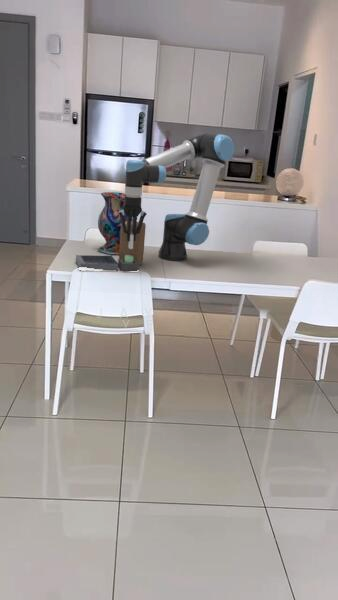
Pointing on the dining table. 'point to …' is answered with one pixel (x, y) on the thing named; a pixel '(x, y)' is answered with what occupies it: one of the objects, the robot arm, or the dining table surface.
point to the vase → (111, 221)
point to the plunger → (128, 259)
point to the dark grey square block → (128, 265)
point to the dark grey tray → (97, 262)
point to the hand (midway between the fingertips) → (130, 248)
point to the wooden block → (137, 244)
